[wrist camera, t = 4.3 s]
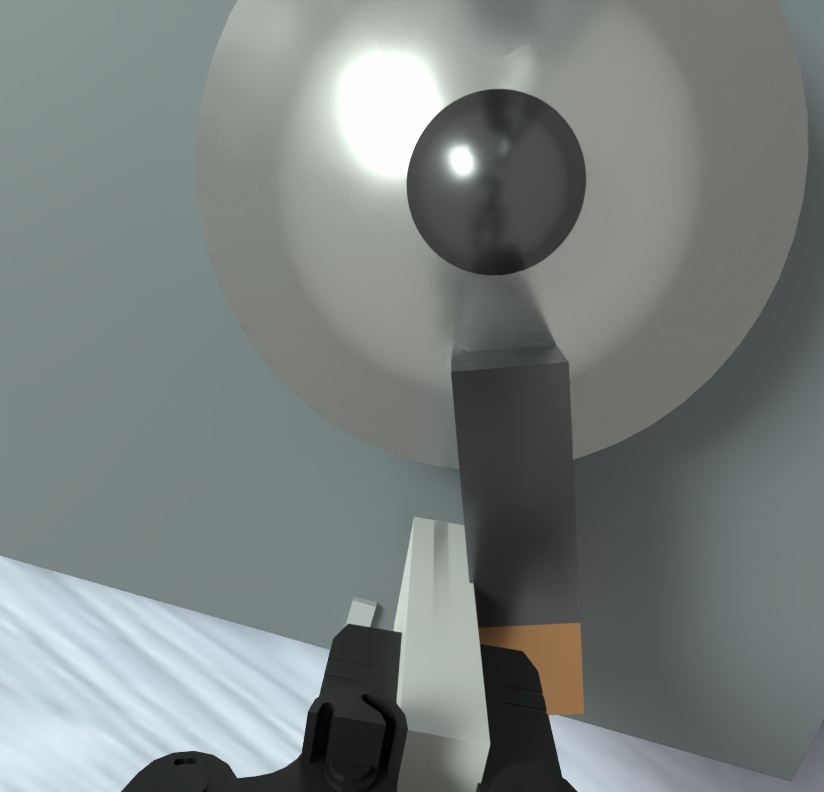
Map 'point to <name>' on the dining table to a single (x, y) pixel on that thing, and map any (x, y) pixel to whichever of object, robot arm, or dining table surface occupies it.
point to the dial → (502, 240)
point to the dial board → (350, 456)
